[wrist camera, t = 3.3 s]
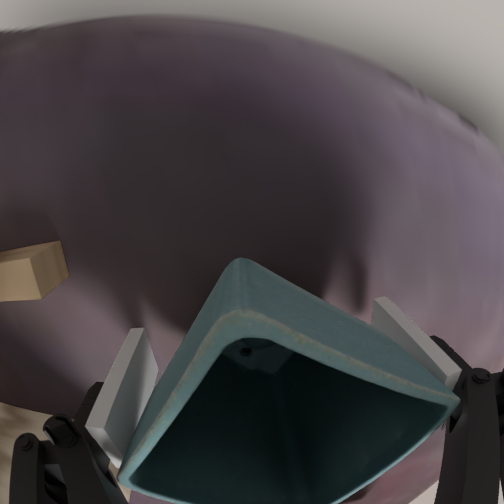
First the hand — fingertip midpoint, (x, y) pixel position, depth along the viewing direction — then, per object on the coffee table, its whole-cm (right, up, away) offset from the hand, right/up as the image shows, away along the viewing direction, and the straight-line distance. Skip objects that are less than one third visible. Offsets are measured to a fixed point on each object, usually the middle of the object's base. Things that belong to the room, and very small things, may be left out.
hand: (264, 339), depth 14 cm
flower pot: (0, 0, +1) cm, 1 cm away
